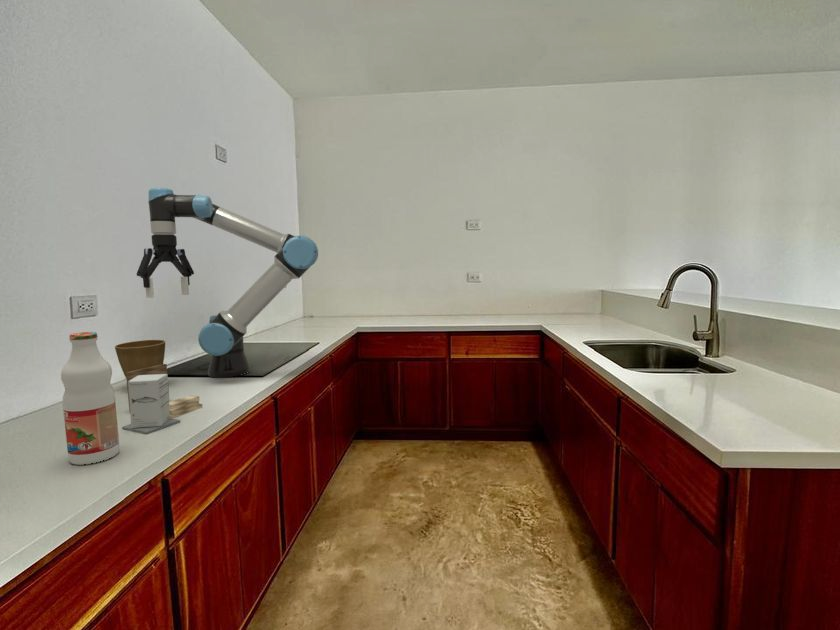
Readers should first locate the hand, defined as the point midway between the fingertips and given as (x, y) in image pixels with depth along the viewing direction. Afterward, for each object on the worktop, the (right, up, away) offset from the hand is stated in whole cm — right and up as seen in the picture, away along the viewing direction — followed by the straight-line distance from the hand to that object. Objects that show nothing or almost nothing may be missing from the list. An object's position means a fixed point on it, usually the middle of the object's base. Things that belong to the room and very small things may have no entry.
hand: (168, 296), depth 160 cm
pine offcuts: (+19, -35, -27) cm, 48 cm away
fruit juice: (+15, -39, -57) cm, 71 cm away
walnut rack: (+7, -34, -22) cm, 41 cm away
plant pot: (-8, -32, -1) cm, 33 cm away
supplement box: (+16, -36, -38) cm, 55 cm away
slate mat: (+16, -36, -38) cm, 55 cm away
